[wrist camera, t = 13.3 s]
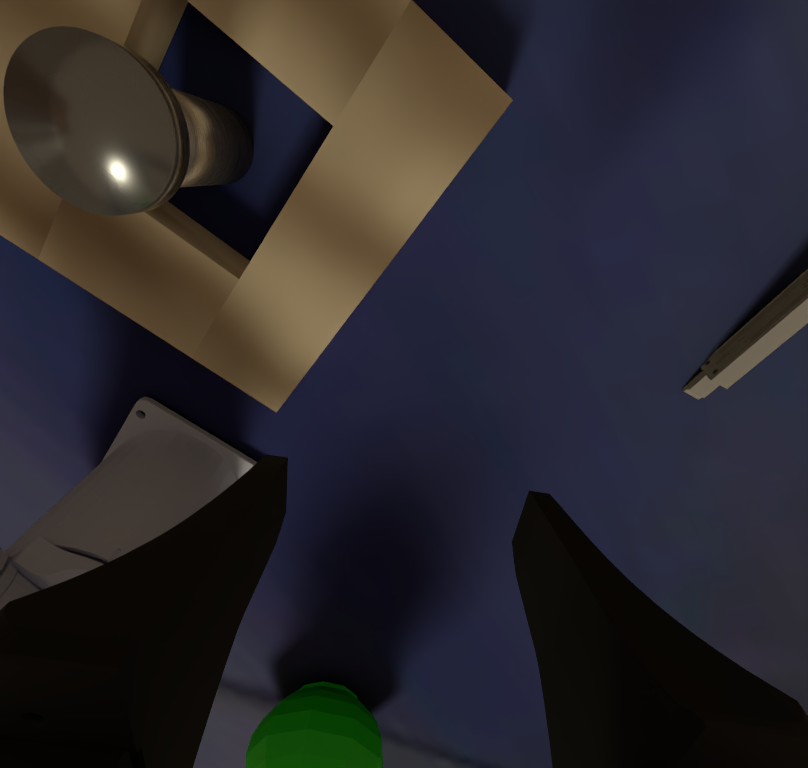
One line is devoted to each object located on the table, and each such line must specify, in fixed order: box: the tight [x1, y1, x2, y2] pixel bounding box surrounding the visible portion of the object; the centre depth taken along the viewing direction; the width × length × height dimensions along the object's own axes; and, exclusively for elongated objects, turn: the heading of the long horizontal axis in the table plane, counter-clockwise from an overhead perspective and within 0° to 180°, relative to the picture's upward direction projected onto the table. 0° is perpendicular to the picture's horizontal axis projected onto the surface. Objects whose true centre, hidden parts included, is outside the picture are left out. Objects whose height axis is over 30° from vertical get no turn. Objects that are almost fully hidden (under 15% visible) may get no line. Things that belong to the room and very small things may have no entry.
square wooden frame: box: [0, 0, 512, 412], centre depth 17 cm, size 16×16×2 cm
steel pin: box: [3, 26, 253, 216], centre depth 15 cm, size 4×4×8 cm
